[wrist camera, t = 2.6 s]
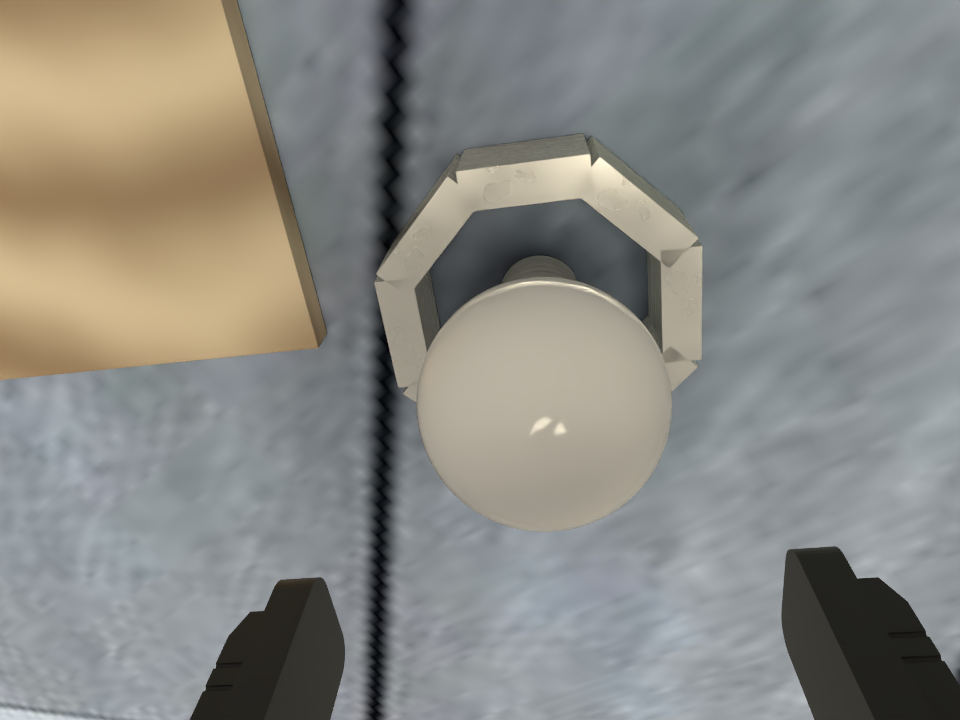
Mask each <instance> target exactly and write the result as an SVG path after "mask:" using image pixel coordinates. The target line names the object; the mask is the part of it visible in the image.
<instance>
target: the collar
mask: <svg viewBox="0 0 960 720" xmlns="http://www.w3.org/2000/svg"><path fill="white" fill-rule="evenodd" d="M578 198H581V199H583V200H584V201H585V202H586V203H588V204H589V205H590V206H591V207H593V208H594V209H595V210H596V211H598V212H599V213H600V214H602V215H603V216H604V217H605V218H607V219H608V220H609V221H610V222H612V223H613V224H614V225H615V226H617V227H618V228H619V229H620V230H622V231H623V232H624V233H625V234H627V235H628V236H629V237H630V238H632V239H633V240H634V241H635V242H637V243H638V244H639V245H640V246H642V247H643V248H644V249H645V250H647V275H648V306H649V314H648V315H647V316H646V318H645V319H644V320H643V321H642V323H643V324H644V325H645V327H646V328H647V329H648V331H649V332H650V334H651V335H652V337H653V338H654V340H655V342H656V344H657V345H658V347H659V349H660V352H661V354H662V356H663V359H664V361H665V364H666V367H667V371H668V375H669V379H670V385H671V392H672V391H673V390H674V389H675V388H676V387H677V386H678V385H679V384H680V383H681V382H683V381H684V380H685V379H686V378H687V377H688V376H689V375H690V374H691V373H692V372H693V371H694V370H695V369H696V368H697V367H698V366H697V363H696V361H695V360H702V245H701V243H700V242H699V240H698V236H697V235H696V233H695V232H694V230H693V229H692V227H691V226H690V224H689V223H688V221H687V220H686V218H685V216H684V215H683V213H682V212H681V210H680V209H679V208H678V207H677V206H676V205H674V204H673V203H672V202H671V201H670V200H668V199H667V198H666V197H665V196H663V195H662V194H661V193H660V192H659V191H657V190H656V189H655V188H654V187H653V186H651V185H650V184H649V183H648V182H647V181H645V180H644V179H643V178H642V177H641V176H639V175H638V174H637V173H636V172H635V171H633V170H632V169H631V168H630V167H628V166H627V165H626V164H625V163H624V162H622V161H621V160H620V159H619V158H618V157H616V156H615V155H614V154H613V153H612V152H610V151H609V150H608V149H607V148H606V147H604V146H603V145H602V144H601V143H600V142H598V141H597V140H596V139H595V138H593V137H592V136H591V137H590V138H589V140H588V141H587V142H586V140H585V138H584V135H583V134H576V135H568V136H561V137H553V138H546V139H538V140H531V141H523V142H516V143H508V144H501V145H493V146H486V147H478V148H471V149H464V152H463V154H462V157H461V156H459V155H458V154H456V156H455V157H454V159H453V160H452V161H451V163H450V164H449V165H448V167H447V168H446V170H445V171H444V172H443V174H442V175H441V177H440V178H439V179H438V181H437V182H436V183H435V185H434V186H433V188H432V189H431V190H430V192H429V193H428V194H427V196H426V197H425V199H424V200H423V201H422V203H421V204H420V205H419V207H418V208H417V210H416V211H415V212H414V214H413V215H412V217H411V218H410V219H409V221H408V222H407V223H406V225H405V226H404V228H403V229H402V230H401V232H400V233H399V234H398V236H397V237H396V239H395V240H394V241H393V243H392V245H391V247H390V248H389V250H388V252H387V254H386V256H385V258H384V260H383V262H382V264H381V266H380V268H379V269H378V271H377V273H376V275H378V276H377V278H376V280H375V282H374V283H375V288H376V292H377V296H378V301H379V305H380V310H381V314H382V318H383V323H384V327H385V332H386V336H387V340H388V345H389V349H390V354H391V358H392V362H393V367H394V371H395V376H396V380H397V384H398V387H405V388H404V391H403V394H404V395H405V396H407V397H408V398H410V399H412V400H413V401H415V402H416V403H417V387H418V381H419V376H420V372H421V368H422V365H423V362H424V359H425V356H426V354H427V352H428V350H429V347H430V345H431V344H432V342H433V340H434V338H435V337H436V335H437V333H438V332H439V330H440V324H439V319H438V313H437V308H436V303H435V297H434V292H433V286H432V281H431V276H430V270H429V269H430V267H431V266H432V265H433V264H434V262H435V261H436V260H437V258H438V257H439V256H440V254H441V253H442V252H443V251H444V249H445V248H446V247H447V245H448V244H449V243H450V241H451V240H452V239H453V238H454V236H455V235H456V234H457V232H458V231H459V230H460V229H461V227H462V226H463V225H464V223H465V222H466V221H467V219H468V218H469V217H470V216H471V214H472V213H473V212H474V211H479V210H488V209H496V208H504V207H512V206H520V205H529V204H537V203H545V202H553V201H561V200H570V199H578Z"/></svg>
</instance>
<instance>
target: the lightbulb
mask: <svg viewBox="0 0 960 720" xmlns="http://www.w3.org/2000/svg"><path fill="white" fill-rule="evenodd" d="M671 417H672V392H671V385H670V379H669V375H668V371H667V367H666V364H665V361H664V359H663V356H662V354H661V352H660V349H659V347H658V345H657V344H656V342H655V340H654V338H653V337H652V335H651V334H650V332H649V331H648V329H647V328H646V327H645V325H644V324H643V323H642V322H641V321H640V319H639V318H638V317H637V316H636V315H635V314H634V313H633V312H632V311H631V310H630V309H628V308H627V307H626V306H625V305H624V304H622V303H621V302H620V301H618V300H617V299H616V298H614V297H612V296H611V295H609V294H608V293H606V292H604V291H602V290H600V289H598V288H596V287H593V286H591V285H588V284H586V283H583V282H579V281H577V280H576V277H575V275H574V274H573V272H572V271H571V269H570V268H569V267H568V266H567V265H565V264H564V263H563V262H561V261H559V260H558V259H555V258H553V257H549V256H531V257H527V258H524V259H522V260H520V261H518V262H517V263H515V264H514V265H513V266H512V267H511V268H510V269H509V270H508V271H507V272H506V274H505V276H504V278H503V280H502V283H501V284H499V285H496V286H494V287H492V288H489V289H487V290H485V291H484V292H482V293H480V294H478V295H477V296H475V297H473V298H472V299H470V300H469V301H468V302H466V303H465V304H464V305H463V306H461V307H460V308H459V309H458V310H457V311H456V312H455V313H454V314H453V315H452V316H451V317H450V318H449V319H448V320H447V321H446V323H445V324H444V325H443V326H442V328H441V329H440V330H439V332H438V333H437V335H436V337H435V338H434V340H433V342H432V344H431V345H430V347H429V350H428V352H427V354H426V356H425V359H424V362H423V365H422V368H421V372H420V376H419V381H418V387H417V419H418V426H419V431H420V435H421V439H422V442H423V445H424V448H425V451H426V453H427V455H428V457H429V460H430V462H431V464H432V465H433V467H434V469H435V471H436V472H437V474H438V475H439V477H440V478H441V480H442V481H443V482H444V483H445V485H446V486H447V487H448V488H449V489H450V491H451V492H452V493H453V494H454V495H455V496H456V497H457V498H459V499H460V500H461V501H462V502H463V503H464V504H466V505H467V506H468V507H470V508H471V509H473V510H474V511H476V512H477V513H479V514H480V515H482V516H484V517H486V518H488V519H490V520H492V521H494V522H497V523H499V524H502V525H505V526H508V527H512V528H516V529H520V530H526V531H535V532H555V531H564V530H570V529H574V528H578V527H582V526H585V525H588V524H591V523H593V522H596V521H598V520H600V519H602V518H604V517H606V516H608V515H609V514H611V513H613V512H614V511H616V510H617V509H619V508H620V507H622V506H623V505H624V504H625V503H627V502H628V501H629V500H630V499H631V498H632V497H633V496H634V495H635V494H636V493H637V492H638V491H639V490H640V489H641V488H642V487H643V485H644V484H645V483H646V482H647V480H648V479H649V478H650V476H651V475H652V473H653V471H654V470H655V468H656V466H657V464H658V463H659V461H660V458H661V456H662V454H663V451H664V449H665V446H666V442H667V439H668V435H669V430H670V425H671Z"/></svg>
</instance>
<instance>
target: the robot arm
mask: <svg viewBox="0 0 960 720" xmlns="http://www.w3.org/2000/svg"><path fill="white" fill-rule="evenodd" d="M782 628H783V634H784V639H785V643H786V647H787V650H788V653H789V656H790V658H791V661H792V663H793V666H794V669H795V671H796V674H797V676H798V679H799V681H800V684H801V686H802V689H803V691H804V694H805V697H806V699H807V702H808V704H809V707H810V709H811V712H812V714H813V717H814V719H815V720H960V685H959V684H958V682H957V681H956V679H955V677H954V676H953V674H952V673H951V671H950V669H949V668H948V666H947V664H946V663H945V661H942V660H941V655H940V653H939V652H938V650H937V648H936V647H935V645H934V644H933V642H932V640H931V639H930V637H927V636H926V631H925V629H924V627H923V626H922V624H921V623H920V621H919V619H918V618H917V616H916V615H915V613H914V611H913V610H912V608H911V606H910V605H909V603H908V602H907V601H906V600H905V599H904V598H902V597H901V596H900V595H899V594H898V593H896V592H895V591H894V590H893V589H892V588H890V587H889V586H888V585H887V584H886V583H884V582H883V581H882V580H881V579H880V578H860V579H857V578H856V576H855V574H854V572H853V570H852V569H851V567H850V565H849V563H848V561H847V560H846V558H845V556H844V554H843V553H842V551H841V550H840V549H839V548H838V547H820V548H804V549H789V550H788V551H787V554H786V561H785V574H784V587H783V600H782ZM344 661H345V644H344V638H343V634H342V631H341V627H340V624H339V621H338V618H337V615H336V612H335V609H334V606H333V603H332V600H331V597H330V594H329V591H328V588H327V585H326V583H325V581H324V579H323V578H321V577H318V578H302V579H286V580H280V581H279V582H277V584H276V585H275V587H274V589H273V592H272V594H271V596H270V599H269V601H268V603H267V606H266V608H265V611H257V612H250V613H249V614H248V615H247V616H246V617H245V619H244V620H243V621H242V622H241V623H240V624H239V625H238V626H237V627H236V629H235V630H234V631H233V632H232V633H231V634H230V635H229V636H228V639H227V641H226V643H225V645H224V647H223V649H222V651H221V654H220V656H219V658H218V660H217V662H216V669H213V671H212V673H211V675H210V677H209V680H208V682H207V684H206V690H205V691H203V693H202V695H201V697H200V699H199V701H198V703H197V706H196V708H195V710H194V712H193V714H192V716H191V718H190V720H330V718H331V714H332V711H333V707H334V703H335V700H336V696H337V692H338V688H339V685H340V681H341V677H342V674H343V669H344Z"/></svg>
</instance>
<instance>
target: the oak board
mask: <svg viewBox="0 0 960 720" xmlns="http://www.w3.org/2000/svg"><path fill="white" fill-rule="evenodd" d="M326 334H327V331H326V328H325V324H324V320H323V317H322V313H321V309H320V306H319V302H318V298H317V294H316V291H315V287H314V283H313V280H312V276H311V272H310V269H309V265H308V261H307V258H306V254H305V250H304V246H303V243H302V239H301V235H300V232H299V228H298V224H297V221H296V217H295V213H294V210H293V206H292V202H291V199H290V195H289V191H288V187H287V184H286V180H285V176H284V173H283V169H282V165H281V162H280V158H279V154H278V151H277V147H276V143H275V139H274V136H273V132H272V128H271V125H270V121H269V117H268V114H267V110H266V106H265V103H264V99H263V95H262V91H261V88H260V84H259V80H258V77H257V73H256V69H255V66H254V62H253V58H252V55H251V51H250V47H249V44H248V40H247V36H246V32H245V29H244V25H243V21H242V18H241V14H240V10H239V7H238V3H237V0H0V380H4V379H14V378H24V377H34V376H44V375H54V374H64V373H74V372H84V371H94V370H103V369H113V368H123V367H133V366H143V365H153V364H163V363H173V362H183V361H193V360H203V359H213V358H223V357H233V356H243V355H253V354H263V353H273V352H282V351H292V350H302V349H312V348H319V346H320V344H321V343H322V341H323V339H324V337H325V336H326Z"/></svg>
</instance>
